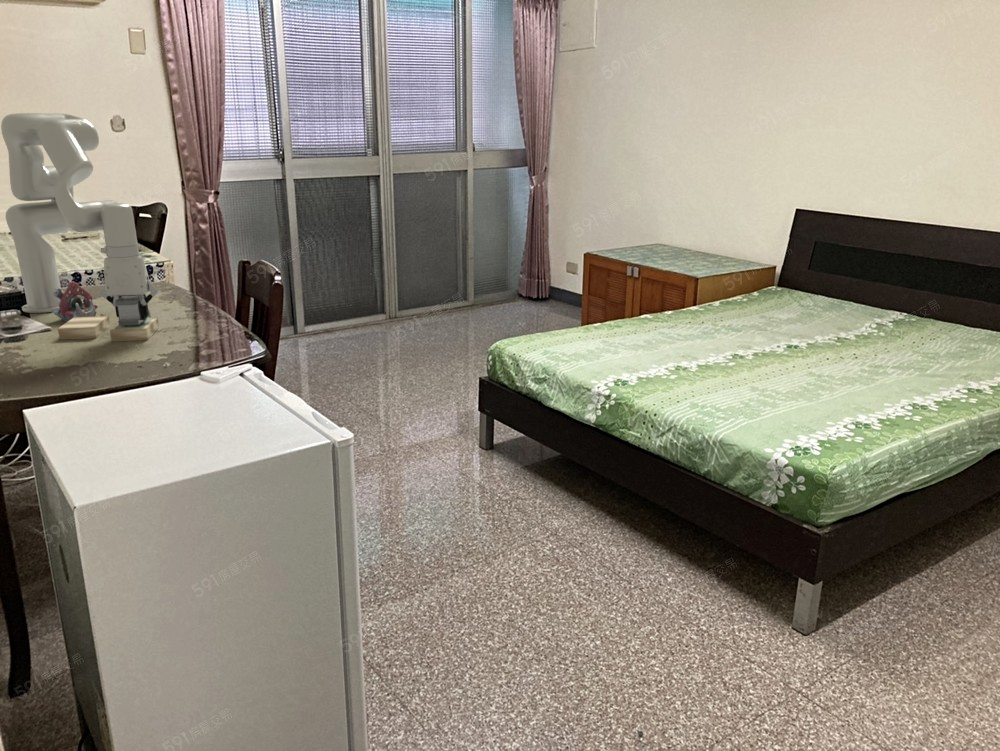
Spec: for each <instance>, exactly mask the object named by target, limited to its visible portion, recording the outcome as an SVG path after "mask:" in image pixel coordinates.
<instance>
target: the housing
mask: <svg viewBox="0 0 1000 751" xmlns="http://www.w3.org/2000/svg"><path fill="white" fill-rule="evenodd" d="M115 305H116V306H118V312H119V317H118V321H117V324H119V326H123V325H139V324H140V323H142V322H143V321H144V320H142V318H141V311H140V306H141V302H140V300H139V298H138V296H121V297H120V298H118V299H117V300H116V301H115ZM119 318H120V320H119ZM147 318H149V316H147Z"/></svg>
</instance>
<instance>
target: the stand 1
mask: <svg viewBox="0 0 1000 751" xmlns="http://www.w3.org/2000/svg"><path fill="white" fill-rule="evenodd" d="M110 327H111V324H110V318H109V315H102V316H101V315H98V316H95V317H74V318H72V319H71V320H69V321H68V322H67V321H66V322H65V323H64V324H63V325H61V326H59V327H58V328H57V333H58V338H59V340H63V341H64V340H83V339H84V340H85V339H97V338H98V337H100V335H102V334H103V333H104V332H105V331H106V330H108V329H109V328H110Z"/></svg>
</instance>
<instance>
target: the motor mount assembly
mask: <svg viewBox="0 0 1000 751" xmlns="http://www.w3.org/2000/svg"><path fill="white" fill-rule="evenodd" d="M55 290H56V291H54V293H53V295H54V296H55V297H57V298H59V300H58V305H59V308H60V309H54V310H52V312H51V313H53V314H54V315H55V316H57V317H58V318H60V319H61V320H62V321H63V322H66V323H67V322H68V321H69V320H71V319H72V318H74V317H96V316H99V315H98V313H97V309H98V307H99V306H98V305H96V304H94V302H93V296H92V295H91V294H90V293H89V292H88V291H87V290H86V289H84V288H83V287H82V286H81V285H79V284H78V283H77V282H75V281H74V280H73V281H69V284H68V286H67V288H66V289H65V291H64V293H62V291H63V290H62V289H60V288H58V289H57V288H55ZM80 296H82V297H83V299H81V297H80Z"/></svg>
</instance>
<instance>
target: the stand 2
mask: <svg viewBox="0 0 1000 751" xmlns="http://www.w3.org/2000/svg"><path fill="white" fill-rule="evenodd" d="M159 329H160V324H159V318H158V317H147V319H145V320H144V321H143V322H142V323H140V324H139V325H123V326H119V324H118V323H117V324H115V325H114V326H113V327H112V328H111V329H109V333H110V339H111V342H127V341H130V342H132V341H134V342H135V341H148V340H150V339H151V337H153V335H154V334H155V333H156V332H157V331H158V330H159Z"/></svg>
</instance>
